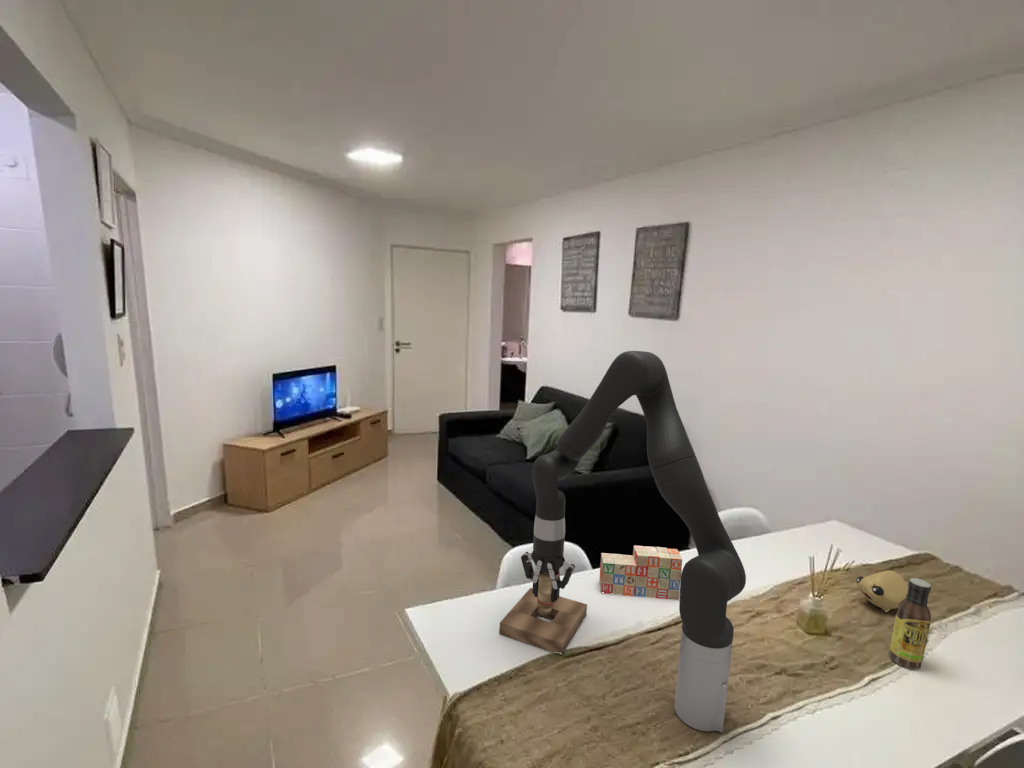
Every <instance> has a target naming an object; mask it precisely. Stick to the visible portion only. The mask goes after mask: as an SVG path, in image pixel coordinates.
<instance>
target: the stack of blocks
mask: <svg viewBox="0 0 1024 768" xmlns="http://www.w3.org/2000/svg"><path fill="white" fill-rule="evenodd" d="M600 555H601V556H600V564H599V567H600V568H599V580H598V581H600V582H599V587H600V589H601V590H600V593H601V592H604V593H603V594H607V593H613V594H612V595H616V594H621V595H620V596H627V595H628V596H629V597H639V598H653V599H661V600H673V601H680V581H681V574H682V570H683V569H682V568H683V567H682V566H683V558H682V555H681V554H680V551H679V550H678V548H668V547H661V546H647V545H646V546H643V545H633V551H632V555H631V554H630V555H629V554H622V553H621V554H620V553H608V552H607V553H606V552H601V553H600Z"/></svg>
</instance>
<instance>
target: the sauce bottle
mask: <svg viewBox="0 0 1024 768" xmlns="http://www.w3.org/2000/svg"><path fill="white" fill-rule="evenodd" d="M907 586H908V593H907V595H906V598H905V599H904V600H903V601H901V602H900V603H899V605H898V608H897V611H896V613H895V619H894V623H893V628H892V633H891V637H890V638H891V639H890V644H889V652H888V655H889V657H890V659H891V660H892V661H893V662H894V663H895V664H896V663H897V664H898V665H900V666H902V667H904V668H907V669H908V668H909V669H911V670H915V669H920V668H922V667H921V666H922V662H923V661H924V657H925V656H924V655H925V651H926V646H927V641H928V637H929V631H930V627H931V619H932V613H931V611H930V609H929V607H928V600H929V595H930V593H931V591H932V585H931V584H930V583H929V582H927V580H923V579H920V578H917V577H916V578H914V577H911V578H909V579H908V583H907Z"/></svg>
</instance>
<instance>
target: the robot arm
mask: <svg viewBox="0 0 1024 768" xmlns="http://www.w3.org/2000/svg"><path fill="white" fill-rule="evenodd" d="M672 391H673V390H672V386H671V384H670V380H669V376H668V371H667V369H666V367H665V364H664V362H663V361H662V359H661V358H660V357H659V356H658V355H656V354H654V353H652V352H650V351H643V350H629V351H628V350H626V351H623V352H621V353H620V354H618V355H617V356H616V357H615V358H614V360H613V361H612V363H611V364H610V365H609V367H608V369H607V370H606V372H605V373H604V375H603V377H602V379H601V380H600V382H599V384H598V386H597V387H596V389H595V390H594V392H593V394H592V395H591V396H590V398H589V399H588V401H587V403H586V404H585V405H584V407H583V408H582V410H581V411H580V413H578V415H577V416H576V417H575V418H574V420H573V421H572V422H571V423H570V424H569V425H568V427H567V428H566V429H565V430H564V431H563V432H562V433H561V434H560V436H559V438H558V440H557V447H556V448H555V449H554V450H552V451H551V452H549V453H546V454H543V455H540V456H538V457H537V458H536V459H535V461H534V462H533V465H532V468H531V478H532V479H531V480H532V484H533V489H534V494H535V497H536V501H535V502H536V504H535V517H534V523H533V524H534V525H533V537H532V538H533V543H532V552H530V553H529V551H525V552H524V553H523V554H522V555H521V556H520V560H521V563H522V567H523V570H524V571H523V572H524V574H525V578H526V579H527V580H530V581H531V582H532V588H533V591H532V592H533V594H534V597H538V580H539V574H540V573H541V572H543V573H547V574H550V579H551V580H552V585H553V588H552V596H551V602H555V601H557V599H558V598H559V596H560V592H561V591H560V590H561V589H562V590H564V589H565V587H566V586H567V585H568V584H569V581H570V579H571V578H572V577H571V576H572V575H573V573H574V570H575V568H576V565H575V564H573V563H571V564H569V563H568V562H566V560H565V556H564V552H565V539H566V537H565V535H566V518H565V517H566V496H565V493H564V492H563V491H561V490H559V489H558V483H559V482H560V481H562V480H565V479H567V478H568V477H569V476H570V475H571V474H573V472H574V471H575V469H577V467H578V466H579V464H580V463H581V460H582V458H583V457H584V456H585V455H586V454H587V453H588V452H589V451H590V450H591V449H592V448H593V447H594V446H595V444H596V443H597V442H598V441H599V439H600V438H601V436H602V435H603V433H604V432H605V429H606V428H607V425H608V422H609V420H610V418H611V417H612V416H613V414H614V413H615V412H616V410H617V409H618V408H619V407H620V406H621V405H622V404H624V403H625V402H626V401H628V400H629V399H630V398H632V397H633V396H636V398H637V400H638V403H639V405H640V407H641V410H642V412H643V413H642V414H643V415H644V419H645V422H646V423H645V424H646V452H647V453H646V455H647V456H646V457H647V461H648V464H649V468H650V471H651V473H652V477H653V479H654V482H655V485H656V488H657V490H658V491H659V494H660V495H661V497H662V498H663V499H664V501H665V502H666V503H667V505H669V507H670V508H672V510H673V511H674V512H675V513H676V514H677V515H678V516H679V518H681V520H682V521H683V522H684V523H685V525H686V527H687V528H688V531H689V533H690V536H691V537H692V539H693V540H692V541H693V543H694V545H695V548H696V552H697V556H695V557H692V558H690V559H688V561H687V562H686V563H685V564H684V566H683V567H682V568H683V569H682V573H681V580H680V589H679V604H678V605H679V606H678V607H679V608H678V609H679V616H680V619H681V632H680V633H681V634H680V643H679V655H678V665H677V667H678V668H677V677H676V687H675V688H676V689H675V695H674V697H675V698H674V712H675V713H676V715H677V717H678V718H679V719H680V720H681V721H682V722H683V723H684V724H685V725H687V726H689V727H690V728H692V729H694V730H698V731H701V732H719V733H723V732H724V725H725V717H726V716H725V714H726V708H727V707H726V706H727V696H728V687H729V678H730V668H731V659H732V650H733V649H732V648H733V641H734V632H735V629H734V628H735V627H734V625H733V623H732V621H731V620H730V619H729V618H728V617H727V607H728V603H729V602H730V601H731V600H732V599H734V598H735V597H737V596H738V595H739V594H741V593H742V591H743V590H744V589H745V587H746V584H747V583H746V581H747V575H746V571H745V567H744V565H743V562H742V560H741V558H740V556H739V553H738V552H737V550H736V547H735V546H734V543H733V542H732V540H731V538H730V536H729V534H728V533H727V530H726V528H725V526H724V524H723V522H722V520H721V517H720V514H719V513H718V510H717V507H716V504H715V503H714V500H713V498H712V494H711V492H710V490H709V487H708V485H707V482H706V479H705V476H704V474H703V471H702V469H701V465H700V463H699V461H698V458H697V456H696V452H695V450H694V448H693V446H692V444H691V441H690V438H689V436H688V434H687V430H686V428H685V426H684V423H683V420H682V418H681V416H680V414H679V411H678V408H677V404H676V402H675V399H674V395H673V392H672ZM532 561H533V563H534V565H535V569H534V567H533V563H532ZM561 568H563V573H564V576H563V578H562V580H561V577H560V576H561V571H560V570H561Z"/></svg>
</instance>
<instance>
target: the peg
mask: <svg viewBox="0 0 1024 768" xmlns="http://www.w3.org/2000/svg"><path fill="white" fill-rule="evenodd" d="M552 588H553V585H552V580H551V579H550V574H547V573H543V572H541V573H540V574H539V580H538V597H537V605H538V606H539V613H540V614H541V615H550V614H551V610H552V607H553V603H554V602H551V596H552Z"/></svg>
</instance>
